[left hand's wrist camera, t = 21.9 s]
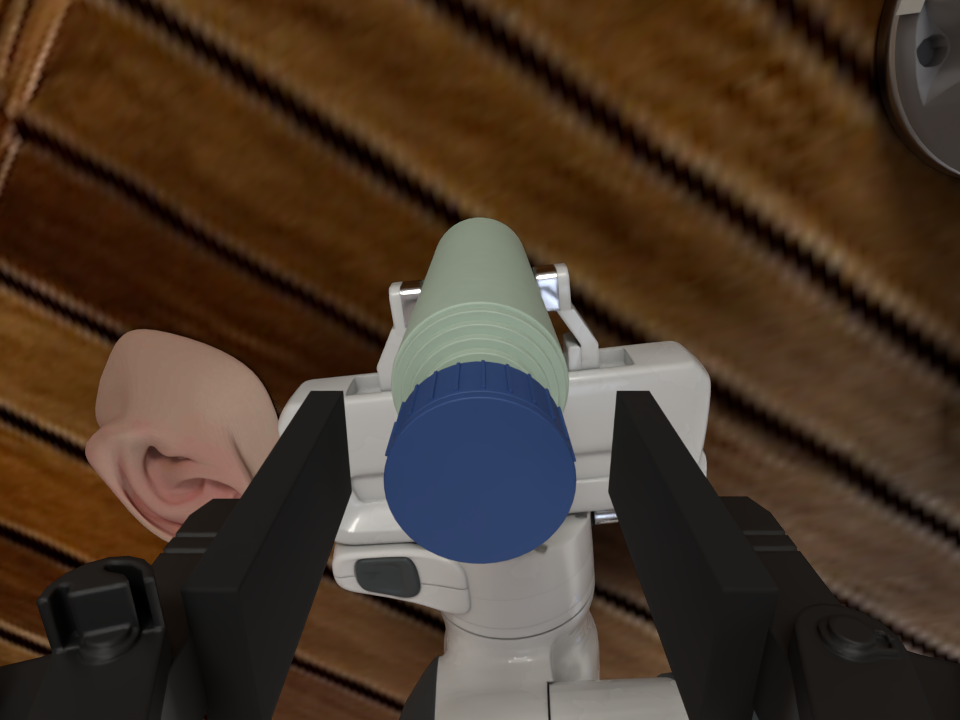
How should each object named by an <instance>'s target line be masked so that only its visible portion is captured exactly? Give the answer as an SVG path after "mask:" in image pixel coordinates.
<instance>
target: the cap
mask: <svg viewBox="0 0 960 720" xmlns="http://www.w3.org/2000/svg"><path fill="white" fill-rule="evenodd" d="M385 456H387V460H386V463H385V468H384V477H383V478H384V491H385V496H386V500H387V503H388V506H389V509H390V511H391V513H392V515H393V517H394V519H395V520H396V522H397V523H398V525H399V526H400V527H401V529H402V530H403V531H404V532H405V533H406V534H407V535H408V536H409V537H410V538H411V539H412V540H413V541H415V542H416V543H417V544H418V545H420V546H421V547H423V548H425V549H426V550H428V551H430V552H432V553H434V554H436V555H438V556H441V557H443V558H446V559H449V560H453V561H458V562H463V563H471V564H488V563H497V562H502V561H507V560H510V559H514V558H517V557H520V556H522V555H524V554H526V553H528V552H530V551H532V550H534V549H535V548H537V547H539V546H540V545H542V544H543V543H544V542H545V541H547V540H548V539H549V538H550V537H551V536H552V535H553V534H554V533H555V532H556V531H557V530H558V528H559V527H560V526H561V525H562V523H563V522H564V520H565V518H566V517H567V515H568V513H569V511H570V509H571V506H572V504H573V500H574V496H575V492H576V481H577V480H576V468H575V464H574V462H576V458H575V454H574V451H573V448H572V444H571V441H570V437H569V434H568V431H567V427H566V424H565V421H564V417H563V414H562V410H561V408H560V406H559V407H557V405H556V403H555V401H554V400H553V398H552V397H551V395H550V392H549V390H548V388H546V389H545V388H544V387H543V386H542V385H541V384H540V383H539V382H537V381H536V380H535V379H533V378H532V376H531V374H529V373H528V374H526V373H524V372H522V371H521V370H518V369H516V368H513V367H511V366H509V364H506V365H504V364H500V363H494V362H486V361H485V360H481V361H474V362H465V363H460V362H458V363H457V364H456V365H452V366H449V367H447V368H444V369H442V370H440V371H437V370H436V371H434V374H432V375H431V376H429V377H428V378H426V379H425V380H424V381H423V382H421V383H420V384H419V385H418V384H416V385H415V388H414V390H413V392H412V393H411V394H410V395H409V397H408V398H407V400H406V402H402V404H401V407H400V410H399V414H398V417H397V421H396V422H394V425H393V429H392V432H391V435H390V439H389V442H388V446H387V449H386V452H385Z"/></svg>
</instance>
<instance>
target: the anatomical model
mask: <svg viewBox="0 0 960 720" xmlns="http://www.w3.org/2000/svg"><path fill="white" fill-rule="evenodd" d="M95 411H96V419H97V422H98V424H99V427H100V429H99V430H98V431H97V432H96V433H95V434H93V436H92V437H91V438H90V439H89V441H88V443H87V445H86V449H85V453H86V457H87V459H88V461H89V463H90V464H91V465H92V467H93V468H94V470H95V471H96V472H97V473H98V474H99V475H100V477H101V478H102V479H103V480H104V482H105V483H106V484H107V485H108V486H109V488H110V489H111V490H112V491H113V492H114V494H115V495H116V496H117V497H118V498H119V500H120V501H121V502H122V503H123V504H124V505H125V507H126V508H127V509H128V510H129V511H130V512H131V514H132V515H133V516H134V517H135V518H136V519H137V520H138V521H139V522H140V523H141V524H143V525H144V526H145V527H146V528H147V529H148V530H150V531H151V532H152V533H154V534H155V535H157V536H158V537H160V538H161V539H163V540H165V541H167V542H170V540H171V539H172V538H173V537H175V536H176V532H177V531H178V530H179V528H180V527H181V526H182V524H183V523H184V522H185V520H186V519H187V518H188V516H189V515H190V514H192V513H193V512H194V511H196V510H197V509H199V508H200V507H202V506H203V505H205V504H206V503H207V502H209V501H210V500H212V499H240V498H241V496H242V495H243V493H244V492H245V490H246V489H247V487H248V486H249V484H250V483H251V481H252V480H253V478H254V476H255V475H256V473H257V472H258V470H259V469H260V467H261V466H262V464H263V463H264V461H265V460H266V458H267V457H268V455H269V454H270V452H271V450H272V449H273V447H274V446H275V444H276V443H277V441H278V440H279V433H278V422H279V421H278V418H277V415H276V412H275V409H274V406H273V404H272V401H271V399H270V396H269V394H268V393H267V391H266V389H265V387H264V385H263V384H262V382H261V381H260V380H259V378H258V377H257V376H256V375H255V374H254V373H253V372H252V371H251V370H250V369H249V368H248V367H247V366H245V365H244V364H243V363H242V362H240V361H238V360H237V359H235V358H234V357H232V356H230V355H228V354H226V353H225V352H223V351H221V350H219V349H216V348H214V347H212V346H209V345H207V344H204V343H201V342H198V341H195V340H192V339H189V338H186V337H183V336H179V335H175V334H172V333H167V332H162V331H157V330H149V329H138V330H133V331H130V332H128V333H126V334H124V335H123V336H122V337H121V338H120V339H119V340H118V342H117V343H116V344H115V346H114V348H113V350H112V352H111V354H110V356H109V359H108V361H107V364H106V366H105V369H104V371H103V374H102V377H101V379H100V384H99V388H98V394H97V400H96V407H95Z"/></svg>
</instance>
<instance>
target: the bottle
mask: <svg viewBox="0 0 960 720" xmlns="http://www.w3.org/2000/svg"><path fill="white" fill-rule="evenodd" d="M481 360H485V361H486V362H494V363H500V364H504V365H506V364H509V366H511V367H513V368H516V369H518V370H521V371H522V372H524V373H526V374H528V373H529V374H531V376H532V378H533V379H535V380H536V381H537V382H539V383H540V384H541V385H542V386H543V387H544V388H545V389H546V388H548V390H549V392H550V395H551V397H552V398H553V400H554V401H555V403H556V405H557V407H559V406H560V408H561V410H562V414H563V412H564V409H565V406H566V403H567V398H568V392H569V375H568V368H567V364H566V360H565V357H564V355H563V352H562V349H561V347H560V344H559V341H558V339H557V336H556V333H555V331H554V328H553V325H552V323H551V320H550V317H549V315H548V312H547V309H546V307H545V304H544V301H543V299H542V296H541V293H540V291H539V288H538V285H537V283H536V280H535V277H534V275H533V272H532V269H531V267H530V264H529V261H528V259H527V256H526V253H525V251H524V248H523V246H522V243H521V241H520V240H519V238H518V237H517V235H516V234H515V233H514V232H513V231H512V230H511V229H510V228H509V227H507V226H506V225H504V224H503V223H501V222H499V221H496V220H493V219H489V218H471V219H467V220H464V221H462V222H459V223H457V224H456V225H454V226H453V227H451V228H450V229H449V230H448V231H447V232H446V233H445V234H444V236H443V237H442V238H441V240H440V242H439V244H438V246H437V248H436V251H435V254H434V256H433V259H432V262H431V264H430V267H429V270H428V272H427V275H426V278H425V280H424V283H423V286H422V288H421V291H420V294H419V296H418V299H417V302H416V304H415V307H414V310H413V312H412V315H411V318H410V320H409V323H408V326H407V328H406V331H405V334H404V336H403V339H402V342H401V344H400V347H399V350H398V352H397V355H396V358H395V361H394V364H393V369H392V375H391V391H392V398H393V402H394V406H395V409H396V411H397V414H399V410H400V407H401V404H402V402H406V400H407V398H408V397H409V395H410V394H411V393H412V392H413V390H414V388H415V385H416V384H418V385H419V384H420V383H421V382H423V381H424V380H425V379H426V378H428V377H429V376H431V375H432V374H434V371H436V370H437V371H440V370H442V369H444V368H447V367H449V366H452V365H456V364H457V363H458V362H460V363H465V362H474V361H481Z"/></svg>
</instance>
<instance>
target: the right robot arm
mask: <svg viewBox="0 0 960 720" xmlns="http://www.w3.org/2000/svg"><path fill="white" fill-rule="evenodd" d="M533 275H534V277H535V280H536V283H537V285H538V288H539V291H540V293H541V296H542V299H543V301H544V304H545V307H546V309H547V311H557V312H558V314H559V315H560V317H561V318H562V319H563V321H564V322H565V324H566V325H567V326H568V328H569V329H570V331H571V332H566V333H564V334H563V335H562V339H563V355H564V357H565V360H566V364H567V368H568V375H569V392H568V398H567V403H566V406H565V409H564V412H563V417H564V421H565V424H566V427H567V431H568V434H569V437H570V441H571V444H572V448H573V451H574V454H575V458H576V462H574V464H575V468H576V480H577V481H576V492H575V496H574V500H573V504H572V506H571V509H570V511H569V513H568V515H567V517H566V518H565V520H564V522H563V523H562V525H561V526H560V527H559V528H558V530H557V531H556V532H555V533H554V534H553V535H552V536H551V537H550V538H549V539H548V540H547V541H545V542H544V543H543V544H542V545H540V546H539V547H537V548H535V549H534V550H532V551H530V552H528V553H526V554H524V555H522V556H520V557H517V558H514V559H510V560H507V561H502V562H497V563H488V564H471V563H463V562H458V561H453V560H449V559H446V558H443V557H441V556H438V555H436V554H434V553H432V552H430V551H428V550H426V549H425V548H423V547H421V546H420V545H418V544H417V543H416V542H415V541H413V540H412V539H411V538H410V537H409V536H408V535H407V534H406V533H405V532H404V531H403V530H402V529H401V527H400V526H399V525H398V523H397V522H396V520H395V519H394V517H393V515H392V513H391V511H390V509H389V506H388V503H387V500H386V496H385V491H384V478H383V477H384V468H385V463H386V460H387V456H385V452H386V449H387V446H388V442H389V439H390V435H391V432H392V429H393V425H394V422H396V421H397V417H398V414H397V411H396V409H395V406H394V402H393V398H392V391H391V375H392V369H393V364H394V361H395V358H396V355H397V352H398V350H399V347H400V344H401V342H402V339H403V336H404V334H405V331H406V328H407V326H408V323H409V320H410V318H411V315H412V312H413V310H414V307H415V304H416V302H417V299H418V296H419V294H420V291H421V288H422V286H423V283H424V280H415V281H404V282H395V283H392V284H391V286H390V288H389V300H390V306H391V311H392V317H393V323H394V325H393V328H392V330H391V332H390V335H389V337H388V340H387V342H386V345H385V348H384V350H383V353H382V355H381V358H380V360H379V363H378V365H377V372H378V373H369V374H359V375H350V376H341V377H332V378H322V379H313V380H308V381H305V382H304V383H302V384H301V385H300V387H299V388H298V389H297V390H296V392H295V393H294V394H293V395H292V396H291V398H290V399H289V401H288V402H287V404H286V406H285V407H284V409H283V411H282V413H281V415H280V418H279V422H278V433H279V438H280V437H281V435H282V434H283V432H284V431H285V429H286V428H287V426H288V425H289V423H290V421H291V420H292V418H293V417H294V415H295V414H296V412H297V411H298V409H299V408H300V406H301V405H302V403H303V402H304V400H305V399H306V397H307V395H308V394H309V392H310V391H343V393H344V404H345V416H346V428H347V439H348V451H349V463H350V475H351V486H352V493H351V496H350V499H349V502H348V505H347V507H346V510H345V513H344V516H343V519H342V521H341V524H340V527H339V530H338V533H337V536H336V538H335V542H336V544H335V549H334V555H333V562H332V568H333V574H334V578H335V580H336V582H337V584H338V585H339V586H340V587H342V588H344V589H346V590H349V591H352V592H358V593H364V594H370V595H376V596H382V597H388V598H393V599H398V600H403V601H407V602H412V603H416V604H420V605H423V606H427V607H430V608H433V609H436V610H439V611H440V613H441V615H442V617H443V620H444V622H445V626H446V631H445V637H444V654H443V655H442V656H439V655H438V656H437V657H436V658H435V659H434V660H433V661H432V662H431V663H430V665H429V666H428V667H427V669H426V670H425V672H424V673H423V675H422V676H421V678H420V680H419V681H418V683H417V684H416V686H415V688H414V689H413V691H412V693H411V694H410V696H409V697H408V699H407V701H406V703H405V705H404V708H403V710H402V713H401V716H400V719H399V720H689V718H688V716H687V713H686V710H685V707H684V704H683V702H682V699H681V696H680V693H679V690H678V687H677V685H676V682H675V679H674V676H673V673H672V672H671V673H664V674H660V675H659V676H657V677H653V678H630V679H606V680H600V659H599V641H598V633H597V628H596V625H595V622H594V619H593V617H592V615H591V613H590V610H589V609H590V606H591V602H592V599H593V595H594V588H595V574H594V557H593V541H592V530H591V527H593V525H600V524H610V523H619V522H618V519H617V516H616V513H615V510H614V507H613V505H612V502H611V499H610V496H609V493H608V486H609V475H610V463H611V451H612V439H613V428H614V416H615V404H616V393H617V391H650V392H651V394H652V395H653V397H654V399H655V400H656V402H657V403H658V405H659V406H660V408H661V409H662V411H663V412H664V414H665V415H666V417H667V418H668V420H669V421H670V423H671V425H672V426H673V428H674V429H675V431H676V432H677V434H678V435H679V437H680V438H681V440H682V441H683V443H684V444H685V446H686V447H687V449H688V450H689V452H690V454H691V455H692V457H693V458H694V460H695V461H696V463H697V464H698V466H699V467H700V469H701V470H702V472H703V473H704V475H705V476H707V457H706V453H705V450H704V448H703V445H704V440H705V435H706V429H707V422H708V414H709V405H710V392H711V383H710V377H709V375H708V373H707V371H706V369H705V368H704V366H703V365H702V364H701V363H700V361H699V360H698V359H697V358H696V357H695V356H694V355H693V354H692V353H691V352H689V351H688V350H687V349H686V348H684V347H683V346H682V345H681V344H679V343H678V342H675V341H663V342H655V343H645V344H636V345H627V346H618V347H608V348H598V342H597V340H596V339H595V337H594V335H593V333H592V331H591V329H590V328H589V327H588V325H587V324H586V322H585V321H584V320H583V318H582V317H581V315H580V314H579V312H578V311H577V310H576V308H575V307H574V305H573V304H572V303H571V297H570V282H569V274H568V269H567V266H566V265H565V263H561V264H552V265H544V266H536V267H533ZM752 720H759V719H758V717H757V715H756V713H755V711H754V713H753V718H752Z"/></svg>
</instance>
